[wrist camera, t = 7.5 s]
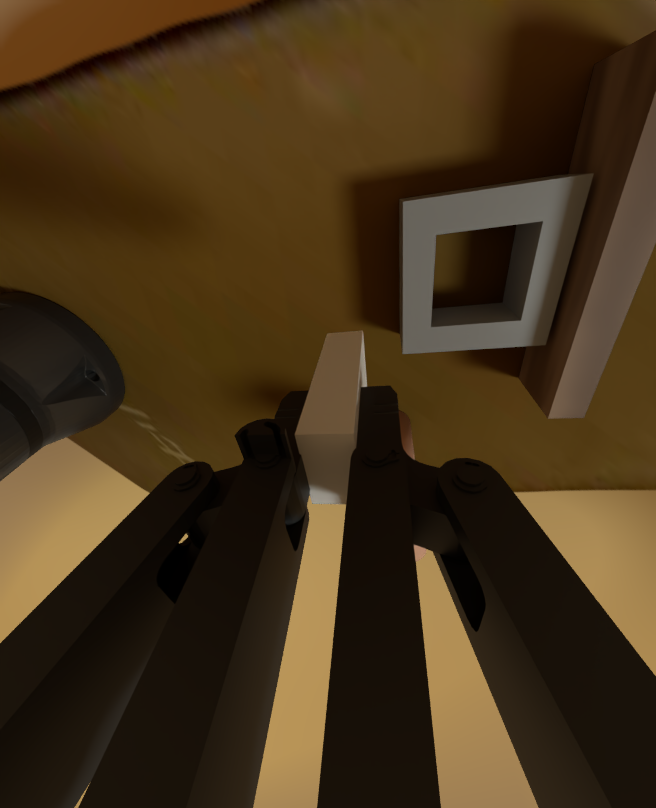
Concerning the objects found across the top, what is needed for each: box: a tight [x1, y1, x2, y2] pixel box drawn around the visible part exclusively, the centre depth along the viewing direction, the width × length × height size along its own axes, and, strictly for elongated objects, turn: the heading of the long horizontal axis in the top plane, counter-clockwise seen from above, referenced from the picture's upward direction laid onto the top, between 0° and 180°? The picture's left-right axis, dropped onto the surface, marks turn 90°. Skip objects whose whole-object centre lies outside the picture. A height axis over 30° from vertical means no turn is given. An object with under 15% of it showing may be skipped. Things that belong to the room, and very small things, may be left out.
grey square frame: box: [399, 173, 594, 354], centre depth 22 cm, size 10×10×4 cm
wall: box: [519, 31, 656, 418], centre depth 20 cm, size 2×20×6 cm, turn 8°
